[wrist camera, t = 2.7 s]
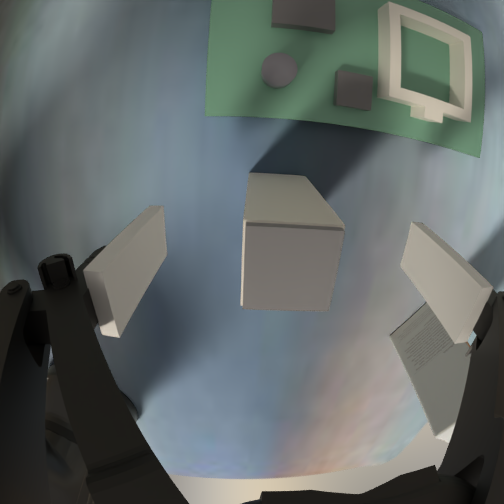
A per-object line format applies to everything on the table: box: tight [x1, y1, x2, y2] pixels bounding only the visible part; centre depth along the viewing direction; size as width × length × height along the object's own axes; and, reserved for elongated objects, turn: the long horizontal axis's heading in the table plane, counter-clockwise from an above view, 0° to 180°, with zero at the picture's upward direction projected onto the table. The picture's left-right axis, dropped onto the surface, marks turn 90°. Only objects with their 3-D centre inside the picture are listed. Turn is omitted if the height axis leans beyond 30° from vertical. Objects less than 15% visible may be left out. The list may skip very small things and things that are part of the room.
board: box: [205, 0, 485, 158], centre depth 14 cm, size 22×12×4 cm, turn 88°
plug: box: [241, 173, 345, 311], centre depth 16 cm, size 4×4×10 cm
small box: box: [389, 302, 471, 443], centre depth 21 cm, size 8×6×13 cm
